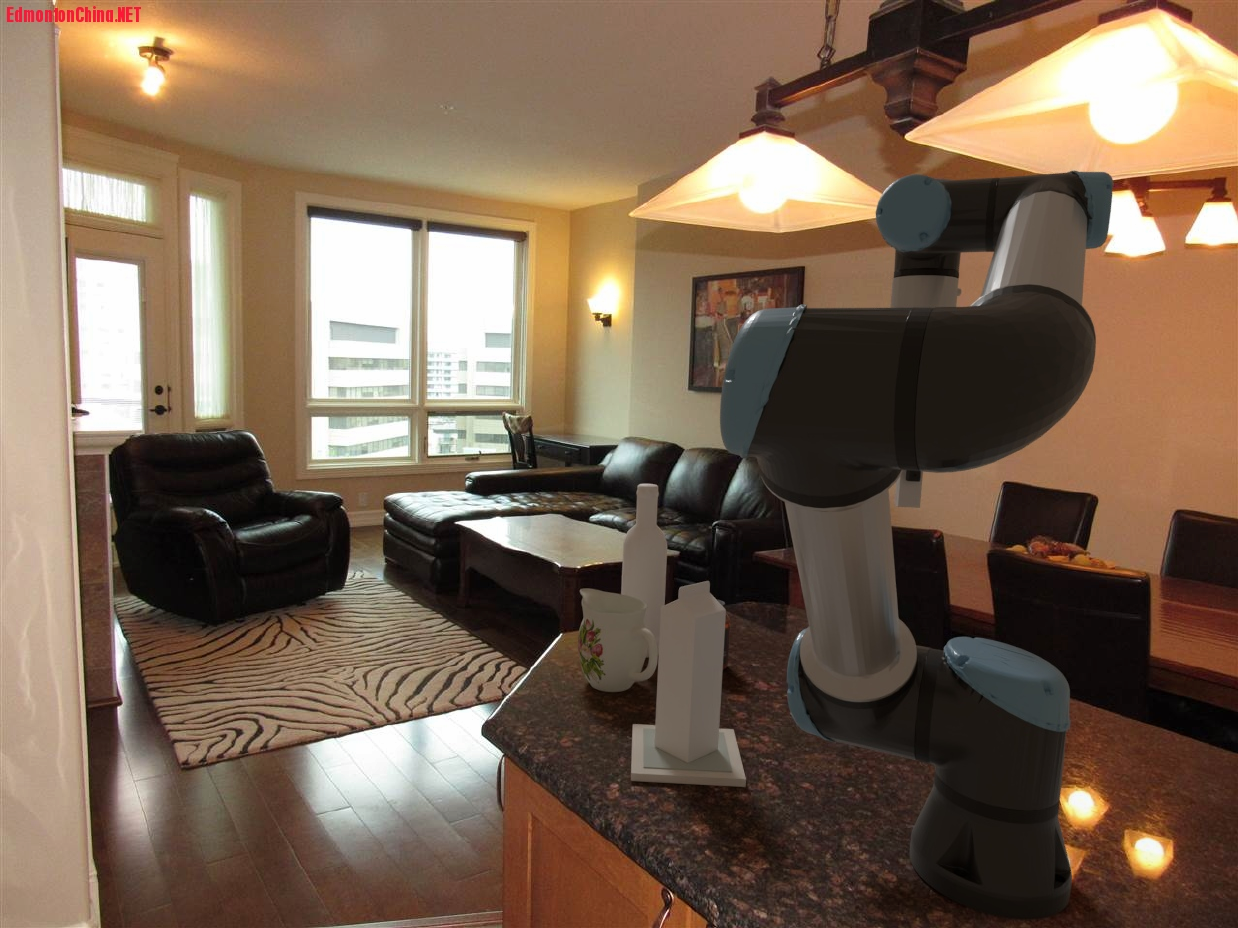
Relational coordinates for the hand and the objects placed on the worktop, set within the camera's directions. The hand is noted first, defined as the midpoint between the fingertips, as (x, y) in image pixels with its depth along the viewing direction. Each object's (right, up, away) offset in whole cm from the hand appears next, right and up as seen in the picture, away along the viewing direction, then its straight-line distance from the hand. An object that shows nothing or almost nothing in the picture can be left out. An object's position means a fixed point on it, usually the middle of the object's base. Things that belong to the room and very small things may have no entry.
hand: (907, 506), depth 103 cm
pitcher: (-37, -30, +28) cm, 55 cm away
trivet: (-27, -33, +5) cm, 43 cm away
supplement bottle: (-20, -30, +38) cm, 52 cm away
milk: (-27, -32, +5) cm, 42 cm away
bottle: (-32, -28, +45) cm, 62 cm away
